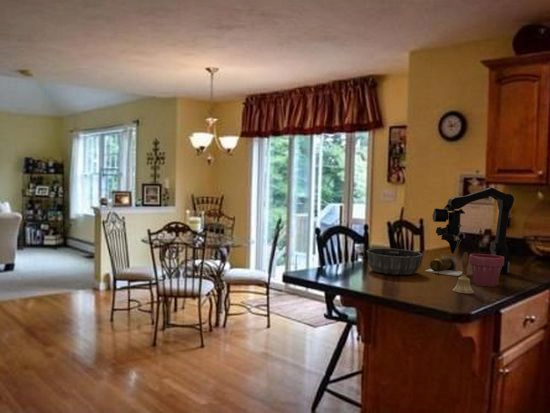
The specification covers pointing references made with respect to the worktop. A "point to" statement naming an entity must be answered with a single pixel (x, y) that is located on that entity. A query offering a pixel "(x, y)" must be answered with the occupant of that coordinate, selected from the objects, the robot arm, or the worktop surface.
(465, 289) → the hand bell
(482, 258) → the plant pot
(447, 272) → the mat
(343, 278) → the worktop surface
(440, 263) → the condiment
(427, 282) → the worktop surface
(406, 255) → the bundt pan
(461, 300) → the worktop surface
